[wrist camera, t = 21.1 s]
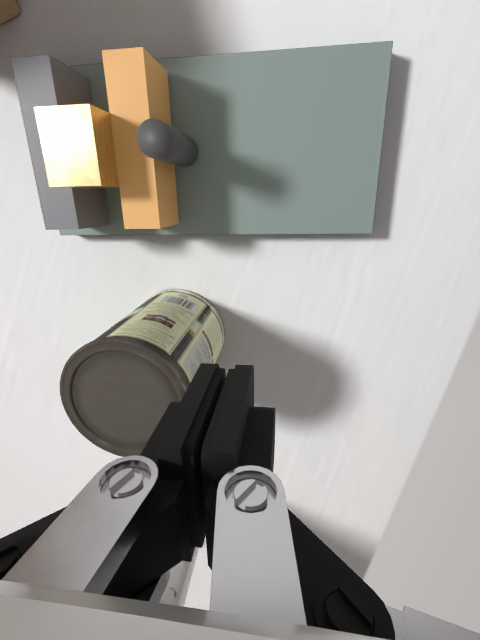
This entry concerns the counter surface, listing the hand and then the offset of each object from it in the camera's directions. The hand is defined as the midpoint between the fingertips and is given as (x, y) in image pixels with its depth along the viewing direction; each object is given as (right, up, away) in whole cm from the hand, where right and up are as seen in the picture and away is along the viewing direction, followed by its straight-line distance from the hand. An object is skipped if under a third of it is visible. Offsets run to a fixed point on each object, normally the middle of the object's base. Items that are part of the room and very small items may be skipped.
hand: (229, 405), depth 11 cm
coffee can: (-6, +1, +28) cm, 28 cm away
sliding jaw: (-6, +17, +19) cm, 26 cm away
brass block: (-10, +17, +20) cm, 28 cm away
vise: (-3, +18, +21) cm, 28 cm away
